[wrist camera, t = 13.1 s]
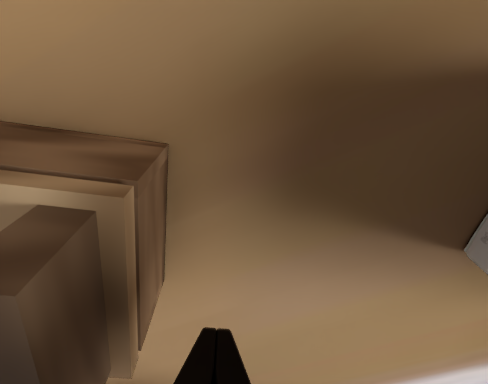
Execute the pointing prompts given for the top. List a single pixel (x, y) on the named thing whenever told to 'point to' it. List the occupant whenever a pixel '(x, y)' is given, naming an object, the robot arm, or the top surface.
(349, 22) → the top surface
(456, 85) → the top surface
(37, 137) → the open wooden box
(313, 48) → the top surface
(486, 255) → the tea box
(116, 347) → the lid
